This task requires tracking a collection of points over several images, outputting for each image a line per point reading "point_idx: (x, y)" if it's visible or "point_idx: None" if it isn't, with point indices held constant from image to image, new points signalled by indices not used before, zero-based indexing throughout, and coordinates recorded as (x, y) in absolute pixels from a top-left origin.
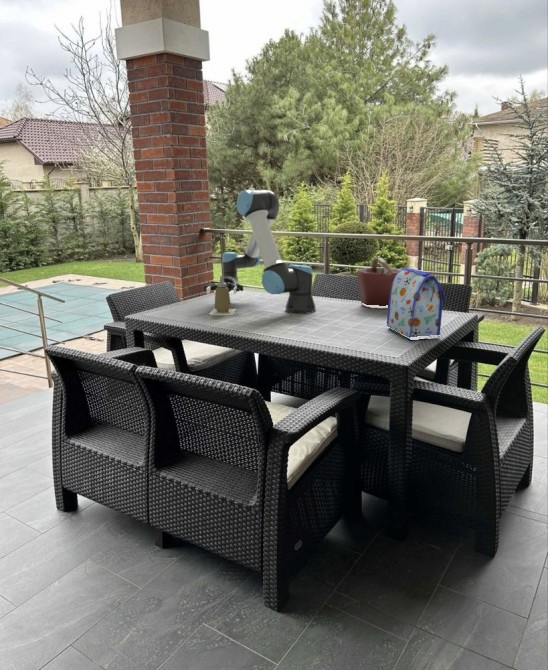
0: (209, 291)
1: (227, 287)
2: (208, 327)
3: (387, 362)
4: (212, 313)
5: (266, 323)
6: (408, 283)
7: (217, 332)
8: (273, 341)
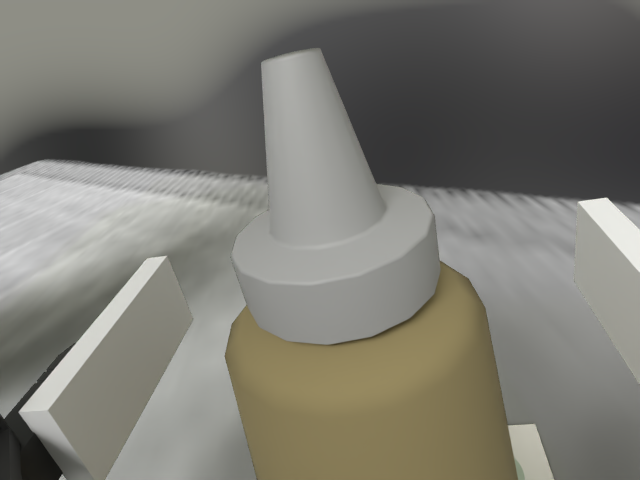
0: (626, 343)
1: (240, 324)
2: None
3: (53, 160)
4: None
5: None
6: None
7: None
8: (189, 176)
